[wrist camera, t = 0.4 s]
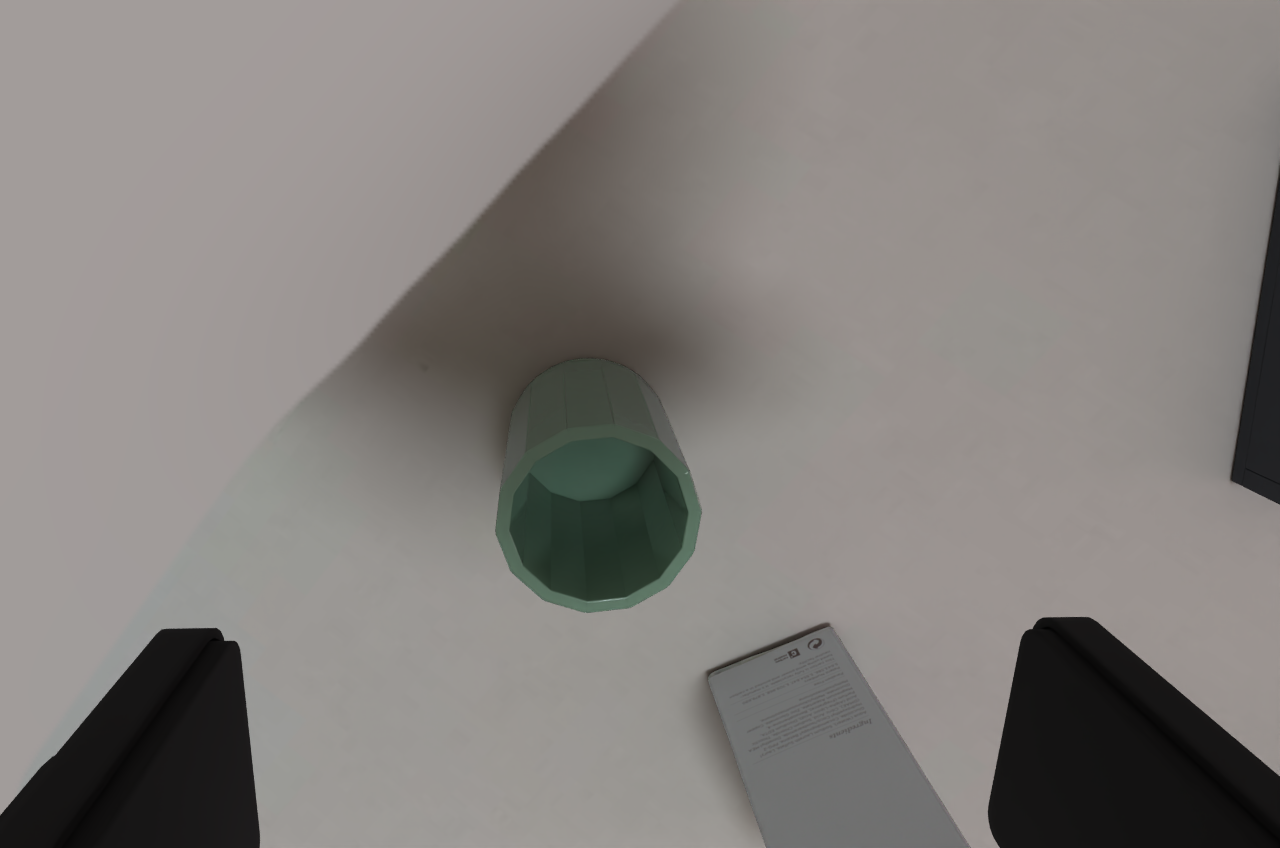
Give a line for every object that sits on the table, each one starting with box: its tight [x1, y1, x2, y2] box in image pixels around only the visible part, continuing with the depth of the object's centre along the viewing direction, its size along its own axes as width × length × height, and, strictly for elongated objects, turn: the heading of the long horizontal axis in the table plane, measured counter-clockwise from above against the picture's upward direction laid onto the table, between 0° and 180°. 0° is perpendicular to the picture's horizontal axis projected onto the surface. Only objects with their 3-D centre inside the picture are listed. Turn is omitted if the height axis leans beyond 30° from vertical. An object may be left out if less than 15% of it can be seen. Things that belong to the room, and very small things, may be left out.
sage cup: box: [495, 358, 702, 613], centre depth 28 cm, size 6×6×8 cm
